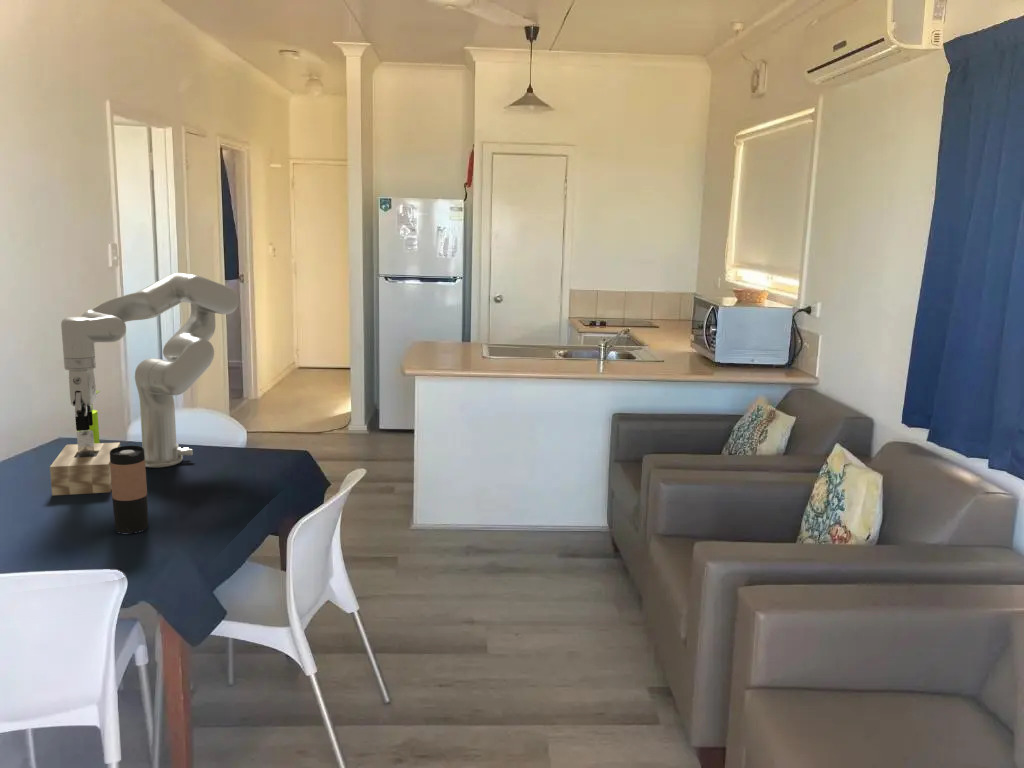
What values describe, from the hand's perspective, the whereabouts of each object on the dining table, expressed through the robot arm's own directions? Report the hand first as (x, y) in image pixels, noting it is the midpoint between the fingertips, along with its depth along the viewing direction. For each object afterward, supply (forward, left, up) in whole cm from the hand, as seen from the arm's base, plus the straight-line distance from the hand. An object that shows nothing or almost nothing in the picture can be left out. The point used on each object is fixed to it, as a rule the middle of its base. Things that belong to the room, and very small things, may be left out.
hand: (84, 427), depth 224 cm
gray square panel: (0, 0, -9) cm, 9 cm away
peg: (0, 0, -8) cm, 8 cm away
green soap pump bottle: (+4, -27, -16) cm, 32 cm away
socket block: (0, 0, -16) cm, 16 cm away
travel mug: (-16, +37, -16) cm, 43 cm away
